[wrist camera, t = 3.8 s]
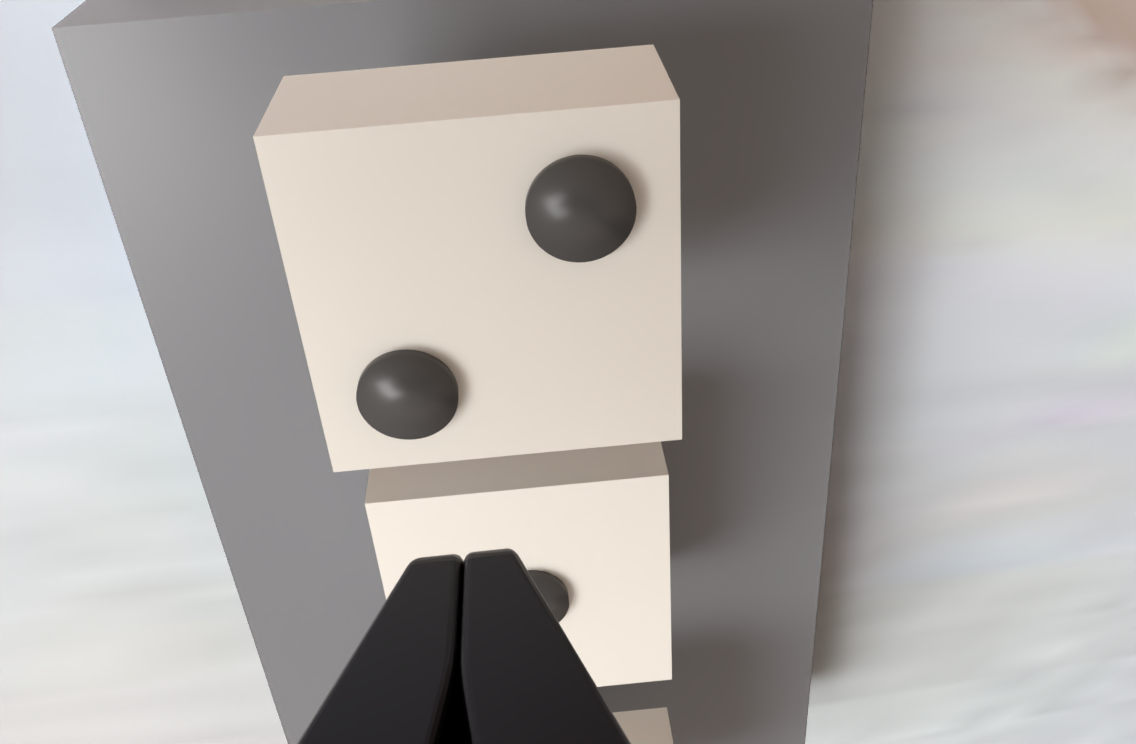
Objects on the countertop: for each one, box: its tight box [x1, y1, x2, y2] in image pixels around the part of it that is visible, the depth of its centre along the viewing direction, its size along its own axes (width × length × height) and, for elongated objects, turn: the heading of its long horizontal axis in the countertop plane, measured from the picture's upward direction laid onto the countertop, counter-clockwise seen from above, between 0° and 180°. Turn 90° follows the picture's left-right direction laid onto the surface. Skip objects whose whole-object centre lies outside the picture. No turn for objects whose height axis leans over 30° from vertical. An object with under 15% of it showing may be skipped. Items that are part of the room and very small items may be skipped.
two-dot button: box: [253, 44, 682, 472], centre depth 13 cm, size 4×4×2 cm
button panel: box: [52, 0, 873, 744], centre depth 20 cm, size 11×17×2 cm, turn 4°
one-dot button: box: [365, 441, 672, 687], centre depth 17 cm, size 4×4×2 cm
